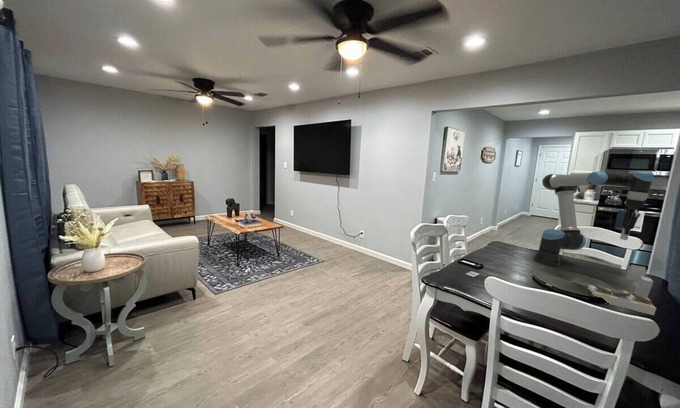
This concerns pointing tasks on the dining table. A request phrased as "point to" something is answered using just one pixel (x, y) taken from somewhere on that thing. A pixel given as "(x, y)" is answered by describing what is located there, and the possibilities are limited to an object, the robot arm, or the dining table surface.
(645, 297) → the rocker
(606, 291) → the rocker
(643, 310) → the switch unit
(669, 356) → the dining table surface
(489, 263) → the dining table surface
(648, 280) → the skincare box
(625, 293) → the rocker
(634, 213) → the robot arm
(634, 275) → the grey box
